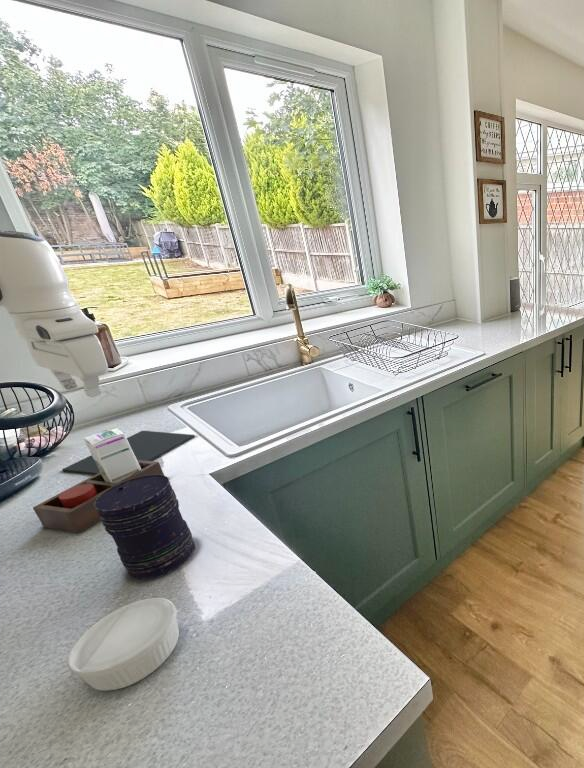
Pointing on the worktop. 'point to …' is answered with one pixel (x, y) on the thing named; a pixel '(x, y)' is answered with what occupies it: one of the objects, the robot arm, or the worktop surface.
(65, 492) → the spice tin
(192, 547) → the dark blue cylinder
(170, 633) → the ramekin
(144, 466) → the caddy
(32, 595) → the worktop surface
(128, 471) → the syrup box
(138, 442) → the mat
